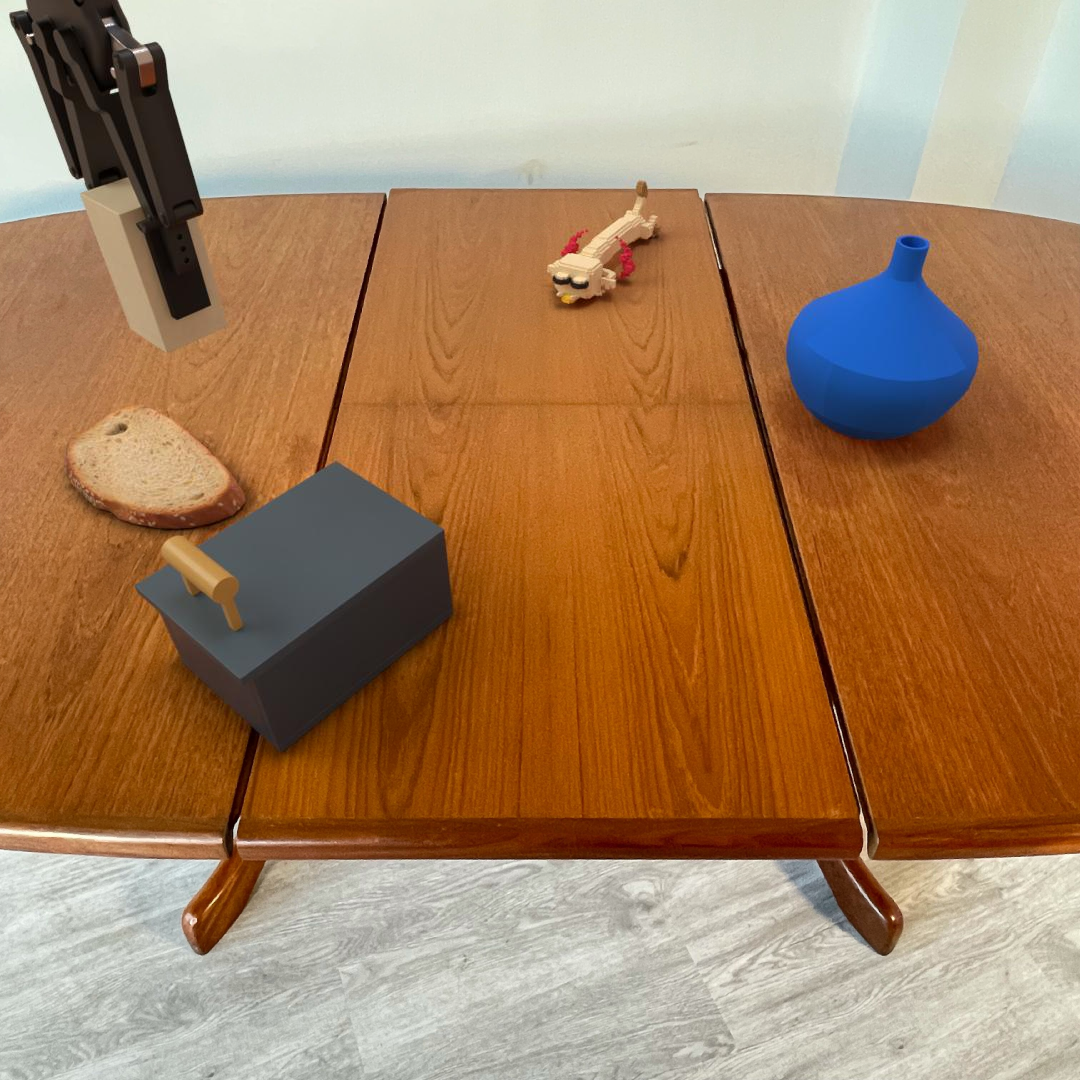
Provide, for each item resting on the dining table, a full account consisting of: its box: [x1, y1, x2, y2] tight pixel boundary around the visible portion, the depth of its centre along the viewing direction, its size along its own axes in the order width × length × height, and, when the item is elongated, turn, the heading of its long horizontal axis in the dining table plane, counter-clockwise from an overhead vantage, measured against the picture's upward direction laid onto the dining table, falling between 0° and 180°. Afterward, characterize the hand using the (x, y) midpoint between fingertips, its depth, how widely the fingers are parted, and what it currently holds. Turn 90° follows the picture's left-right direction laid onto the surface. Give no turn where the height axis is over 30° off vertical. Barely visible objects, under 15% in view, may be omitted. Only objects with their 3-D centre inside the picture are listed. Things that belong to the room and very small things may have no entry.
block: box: [79, 177, 229, 354], centre depth 60 cm, size 5×5×10 cm
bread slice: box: [64, 404, 246, 530], centre depth 86 cm, size 18×18×4 cm
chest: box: [159, 536, 454, 754], centre depth 69 cm, size 18×13×9 cm
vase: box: [785, 234, 980, 441], centre depth 87 cm, size 18×18×19 cm
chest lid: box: [133, 460, 446, 686], centre depth 63 cm, size 19×13×6 cm
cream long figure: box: [546, 180, 662, 305], centre depth 115 cm, size 10×9×25 cm
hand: (169, 296), depth 62 cm, fingers closed on block, 5 cm apart
